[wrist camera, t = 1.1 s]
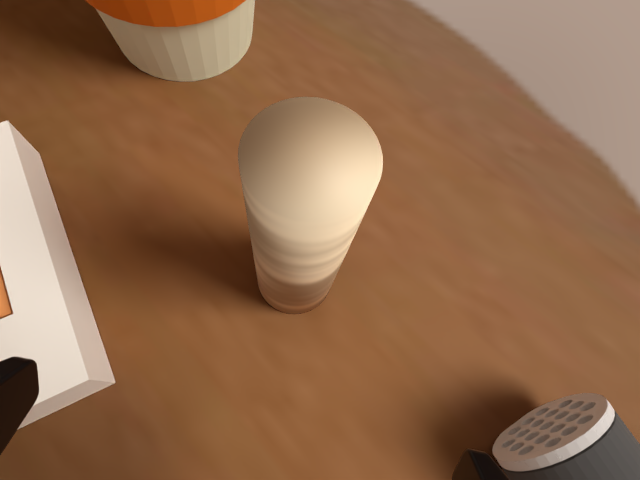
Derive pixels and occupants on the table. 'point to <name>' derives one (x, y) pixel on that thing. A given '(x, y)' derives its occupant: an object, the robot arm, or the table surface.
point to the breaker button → (4, 299)
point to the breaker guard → (44, 286)
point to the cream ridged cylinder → (305, 195)
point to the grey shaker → (569, 443)
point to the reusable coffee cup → (180, 34)
